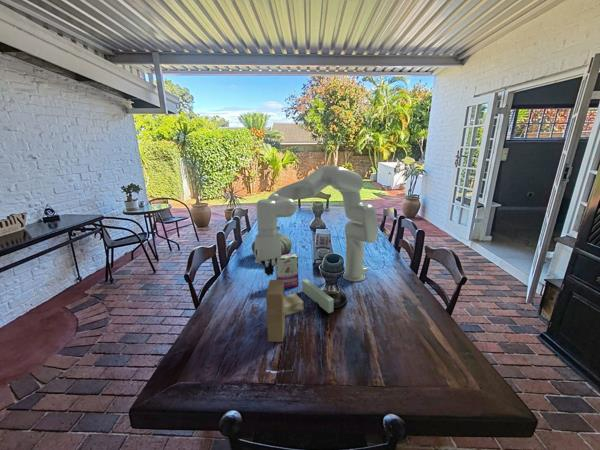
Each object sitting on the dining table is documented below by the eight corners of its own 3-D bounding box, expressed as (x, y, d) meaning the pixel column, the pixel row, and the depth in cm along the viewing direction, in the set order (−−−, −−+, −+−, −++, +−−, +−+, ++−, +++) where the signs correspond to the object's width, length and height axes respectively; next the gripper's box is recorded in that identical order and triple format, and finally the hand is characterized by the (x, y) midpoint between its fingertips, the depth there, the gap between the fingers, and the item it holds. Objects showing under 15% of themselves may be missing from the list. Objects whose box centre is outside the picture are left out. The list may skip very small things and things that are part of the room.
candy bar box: (296, 281, 147) (296, 252, 143) (298, 286, 143) (298, 256, 138) (275, 284, 145) (274, 255, 140) (277, 289, 140) (276, 259, 135)
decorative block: (271, 323, 113) (269, 279, 108) (285, 324, 113) (284, 279, 107) (267, 342, 103) (265, 294, 97) (282, 342, 102) (281, 294, 97)
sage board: (306, 289, 139) (306, 278, 138) (333, 311, 121) (333, 299, 119) (302, 291, 138) (302, 280, 136) (328, 313, 120) (329, 301, 118)
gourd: (299, 258, 171) (293, 231, 167) (260, 271, 163) (253, 243, 159) (286, 248, 194) (281, 224, 190) (252, 259, 186) (245, 235, 182)
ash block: (295, 301, 129) (295, 293, 128) (303, 310, 122) (303, 301, 121) (277, 307, 125) (277, 298, 124) (284, 316, 118) (284, 307, 117)
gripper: (280, 226, 115) (281, 266, 121) (245, 231, 108) (248, 274, 113) (289, 230, 109) (289, 273, 114) (252, 237, 102) (255, 282, 107)
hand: (269, 274), depth 114 cm, fingers closed
